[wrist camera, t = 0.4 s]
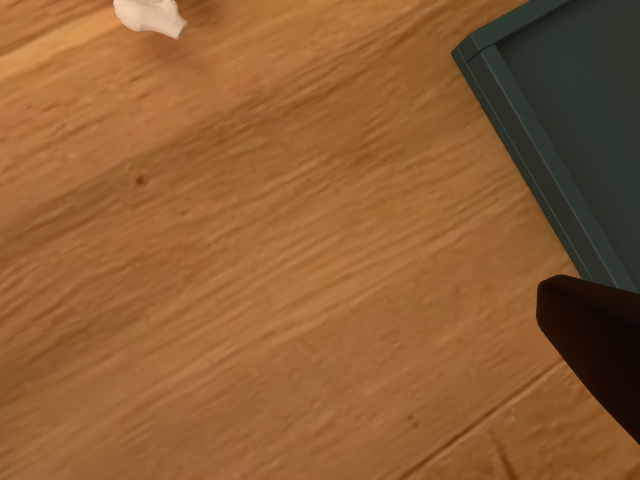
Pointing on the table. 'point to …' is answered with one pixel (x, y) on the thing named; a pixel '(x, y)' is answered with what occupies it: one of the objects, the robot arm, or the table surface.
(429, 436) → the table surface
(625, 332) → the robot arm
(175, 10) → the hip bone replica
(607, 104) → the tray
